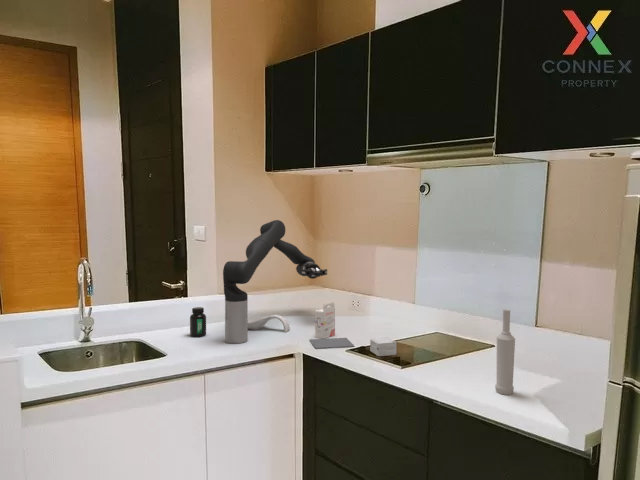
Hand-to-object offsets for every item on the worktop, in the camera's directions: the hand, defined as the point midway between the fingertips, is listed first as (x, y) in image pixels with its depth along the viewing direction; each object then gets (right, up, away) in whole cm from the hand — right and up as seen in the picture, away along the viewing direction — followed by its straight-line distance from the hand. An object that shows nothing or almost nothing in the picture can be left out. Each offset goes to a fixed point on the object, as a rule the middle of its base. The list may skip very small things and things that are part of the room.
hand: (318, 274), depth 226 cm
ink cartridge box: (+3, -26, -13) cm, 29 cm away
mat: (+5, -27, -26) cm, 37 cm away
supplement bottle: (-52, -26, -14) cm, 60 cm away
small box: (+25, -28, -38) cm, 53 cm away
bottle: (+56, -30, -79) cm, 101 cm away
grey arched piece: (-25, -26, -1) cm, 35 cm away
